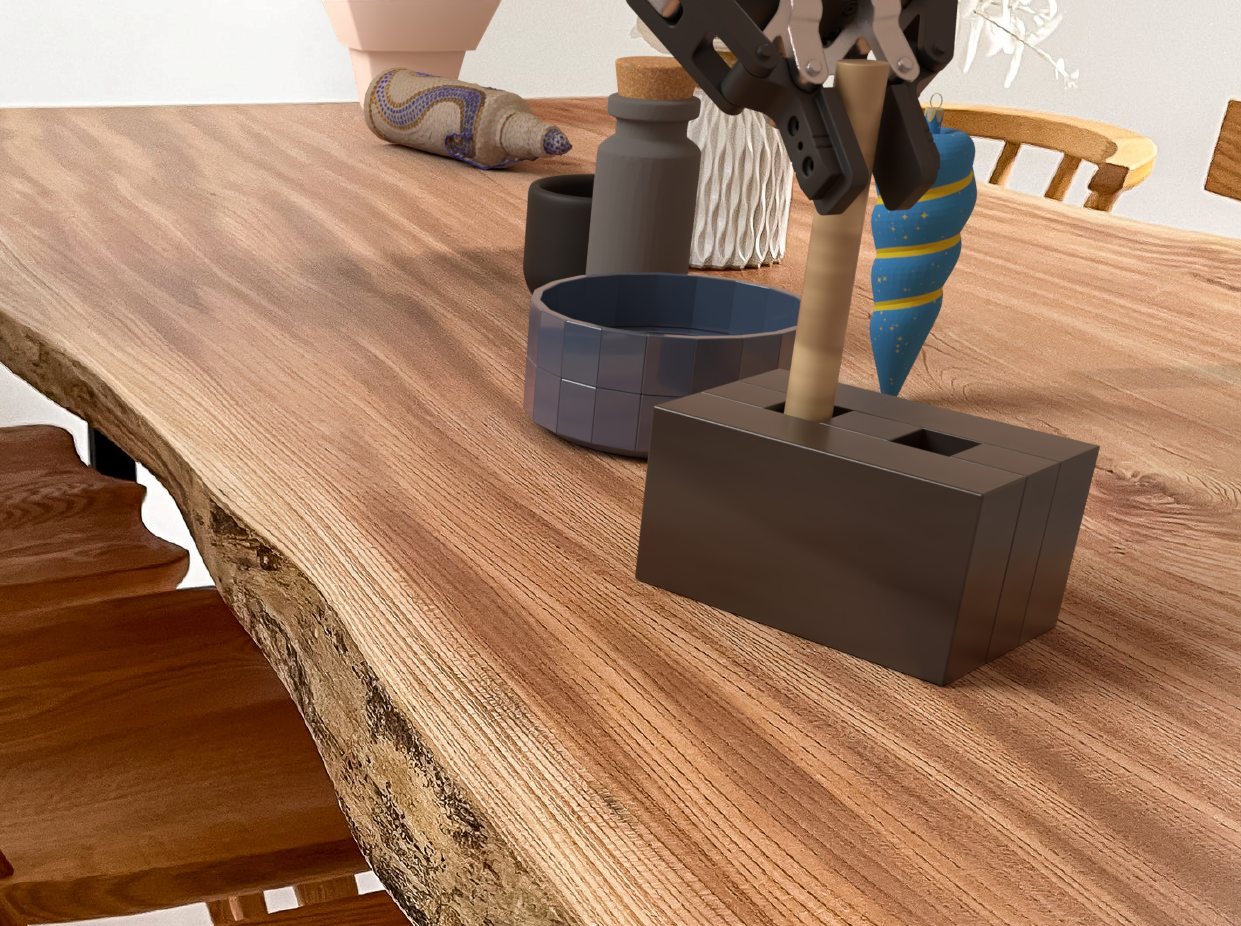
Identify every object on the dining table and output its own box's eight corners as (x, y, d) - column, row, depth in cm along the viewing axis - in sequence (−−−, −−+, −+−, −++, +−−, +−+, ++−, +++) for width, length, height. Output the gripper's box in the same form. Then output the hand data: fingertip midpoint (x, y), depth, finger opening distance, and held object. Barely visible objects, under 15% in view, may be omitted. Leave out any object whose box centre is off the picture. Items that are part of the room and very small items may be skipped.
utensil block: (755, 532, 75) (779, 368, 71) (1056, 626, 67) (1101, 445, 63) (633, 579, 70) (652, 405, 66) (942, 687, 62) (983, 494, 58)
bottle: (699, 340, 103) (734, 62, 95) (638, 357, 100) (668, 70, 92) (622, 321, 107) (648, 51, 99) (560, 337, 103) (582, 58, 95)
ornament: (889, 418, 90) (946, 103, 82) (815, 394, 94) (863, 90, 86) (956, 404, 93) (1017, 96, 85) (881, 381, 96) (934, 84, 89)
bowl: (297, 107, 187) (297, -40, 180) (473, 106, 190) (480, -39, 183) (327, 133, 171) (328, -27, 164) (517, 132, 175) (528, -25, 167)
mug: (513, 287, 114) (521, 171, 111) (649, 289, 115) (662, 174, 111) (534, 334, 104) (543, 208, 100) (684, 336, 104) (699, 211, 101)
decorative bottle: (356, 145, 165) (358, 67, 162) (421, 140, 169) (425, 64, 165) (525, 187, 147) (532, 101, 143) (594, 181, 150) (602, 97, 147)
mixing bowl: (638, 372, 97) (649, 260, 94) (856, 429, 89) (877, 307, 85) (466, 419, 89) (473, 297, 86) (689, 486, 80) (705, 354, 77)
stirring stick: (775, 571, 71) (854, 57, 61) (813, 583, 70) (900, 62, 60) (750, 582, 70) (826, 61, 60) (787, 594, 69) (871, 66, 59)
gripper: (606, -316, 58) (771, 136, 55) (940, -297, 63) (1108, 119, 60) (519, -134, 65) (660, 276, 62) (825, -130, 70) (971, 251, 67)
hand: (880, 197), depth 61 cm, fingers closed
